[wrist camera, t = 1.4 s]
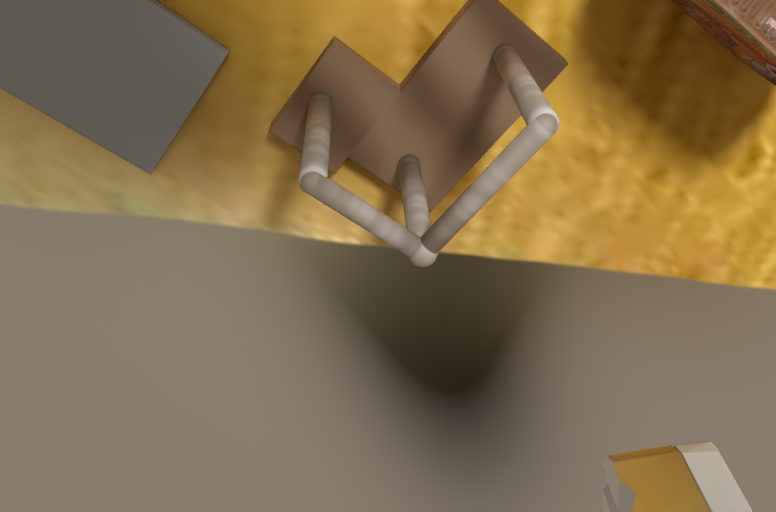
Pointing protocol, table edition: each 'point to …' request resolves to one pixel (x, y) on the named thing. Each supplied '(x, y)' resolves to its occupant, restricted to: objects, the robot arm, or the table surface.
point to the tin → (740, 29)
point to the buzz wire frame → (424, 123)
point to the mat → (108, 69)
